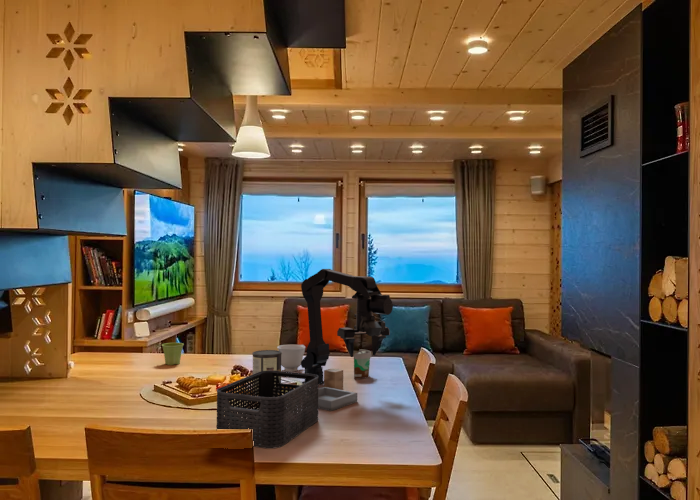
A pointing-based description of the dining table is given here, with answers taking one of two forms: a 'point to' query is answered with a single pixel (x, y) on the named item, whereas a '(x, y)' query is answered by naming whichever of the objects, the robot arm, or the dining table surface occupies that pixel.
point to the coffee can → (266, 361)
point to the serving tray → (334, 398)
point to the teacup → (291, 356)
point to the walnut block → (333, 378)
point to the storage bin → (269, 407)
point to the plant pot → (172, 353)
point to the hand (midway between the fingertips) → (363, 356)
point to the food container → (361, 364)
